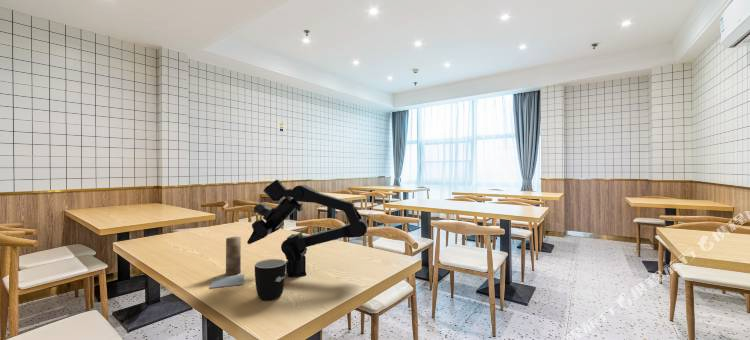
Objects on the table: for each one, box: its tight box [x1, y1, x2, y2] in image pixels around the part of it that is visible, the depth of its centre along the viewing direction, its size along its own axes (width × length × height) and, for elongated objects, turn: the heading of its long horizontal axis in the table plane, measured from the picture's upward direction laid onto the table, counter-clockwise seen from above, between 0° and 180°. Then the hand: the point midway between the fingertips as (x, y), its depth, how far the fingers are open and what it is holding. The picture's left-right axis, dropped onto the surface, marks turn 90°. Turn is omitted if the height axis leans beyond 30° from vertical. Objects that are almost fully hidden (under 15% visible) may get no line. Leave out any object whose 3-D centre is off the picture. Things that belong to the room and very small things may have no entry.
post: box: [225, 236, 242, 276], centre depth 114 cm, size 5×5×13 cm
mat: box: [209, 274, 245, 289], centre depth 105 cm, size 10×10×1 cm
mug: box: [254, 258, 286, 302], centre depth 95 cm, size 12×9×10 cm
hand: (253, 240), depth 114 cm, fingers open, 9 cm apart
